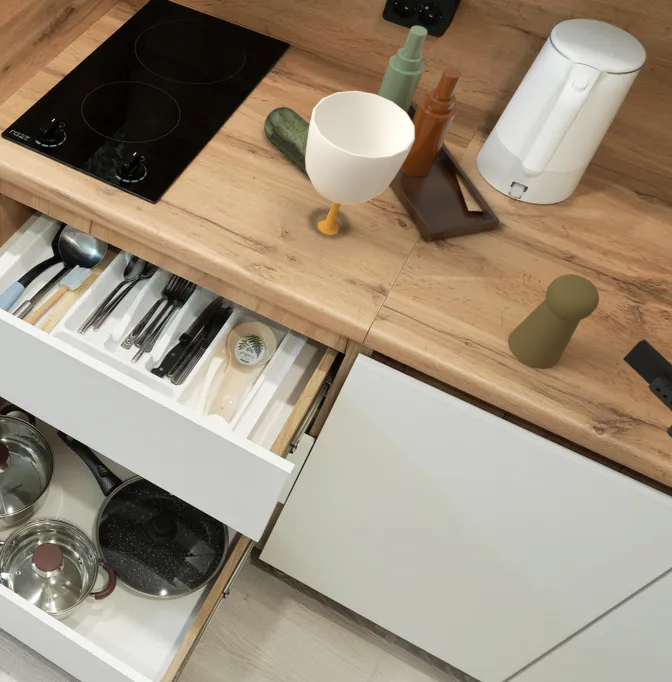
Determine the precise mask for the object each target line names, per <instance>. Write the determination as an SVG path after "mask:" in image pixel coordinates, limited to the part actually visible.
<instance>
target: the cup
mask: <svg viewBox="0 0 672 682" xmlns="http://www.w3.org/2000/svg"><path fill="white" fill-rule="evenodd" d="M309 124H310V125H309V131H308V139H307V147H306V156H305V163H306V171H307V173H308V175H307V176H308V177H309V178H308V179H309V180H310V182H311V184H312V186H313V188H314V190H315V191H317V193H318V194H320V195H321V196H322V198H325V199H326V200H329V201H331V206H330V209H329V211H328V214H327V216H326V218H325V219H321V220H320V221H318V223H317V228H318V230H319V231H320V232H321V233H322V234H324V235H328V236H332V235H336V234H337V233H338V232H339V230H340V227H339V225H338V224H337V222H336V220H337V216H338V212H339V209H340V207H341V205H345V206H354V205H362V204H364V203H367V202H369V201H370V200H373V199H375V198H377V197H378V196H380V195H382V194H383V193H384V192H385V190H386V189H387V188H388V187H390V185H389V184H390V183H391V181H392V180H393V179H394V177H395V176H396V174H397V173H398V171H399V169H400V168H401V166H402V164H403V162H404V161H405V159H406V157H407V155H408V153H409V151H410V149H411V147H412V145H413V143H414V141H415V126H414V124H413V123H412V121H411V119H410V118H409V116H408V114H407V113H406V112H405V111H404V110H402V109H401V108H400V107H399V106H397V105H396V104H395V103H394V102H392V101H390V100H387V99H385V98H383V97H380V96H378V95H377V94H376V93H370V92H365V91H358V90H348V91H337V92H334V93H332V94H330V95H327V96H325V97H323V98H321V99H320V100H319V101H318V103H317V104H316V105H315V106H314V108H312V113H311V117H310V121H309Z"/></svg>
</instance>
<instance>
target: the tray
mask: <svg viewBox="0 0 672 682" xmlns="http://www.w3.org/2000/svg"><path fill="white" fill-rule="evenodd" d="M417 107H418V106H417V105H416V104H415V103H414V101H413V100H412V102H411V105H410V107H409V110H408V113H407V114H408V116H409V118H410V119H411V121H412V120H413V117H414V115H415V112H416V110H417ZM458 179H459V180H460V182H461V183H462V184H463V186H464V187H465V189H466V190H467V192H468V193H469V194H470V196H471V197H472V199H474V201H475V203H476V204H477V205H478V206H479V208H480V209H481V210H469V208H468V205H467V202H466V200H465V196H464V194H463V190H462V188H461V184H460V182H459V180H458ZM389 187H390V188H391V190H392V192H393V193H394V194H395V196H396V197H397V198H398V201H399V202H400V203H401V205H402V207H403V208H404V210H405V212H406V213H407V215H408V216H409V217H410V219H411V220H412V222H413V224H414V225H415V227H416V228H417V230H418V231H419V233H420V235H421V236H422V238H423V239H424V241H425V242H426V243H430V242H436V241H441V240H445V239H452V238H457V237H463V236H467V235H472V234H479V233H483V232H489V231H495V230H496V229H497V227H498V226H499V224H500V222H501V220H500V219H499V218H498V216H497V215H496V213H495V212H494V211H493V209H492V208H491V206H490V205H489V204H488V203H487V201H486V200H485V198H484V197H483V195H482V194H481V193H480V192H479V190H478V189H477V187H476V186H475V185H474V183H473V182H472V181H471V179H470V178H469V177H468V175H467V173H465V171H464V170H463V168H462V167H461V165H460V164H459V162H458V161H457V160H456V159H455V157H454V155H452V153H451V152H450V150H449V149H448V148H447V146H446V145H445V144H444V143H443V144H442V146H441V148H440V151H439V153H438V155H437V157H436V160H435V162H434V164H433V166H432V168H431V171H430V172H429V174H427V175H426V176H423V177H413V176H409V175H407V174H405V173H403V172H402V171H401V170H400V169H399V171H398V173H397V174H396V176H395V177H394V179H393V180H392V181H391V183H390V184H389Z"/></svg>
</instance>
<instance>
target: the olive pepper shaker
mask: <svg viewBox="0 0 672 682" xmlns="http://www.w3.org/2000/svg"><path fill="white" fill-rule="evenodd" d="M544 297H545V298H544V300H543V301H542V302H540V304H539V305H537V307H536V308H535V309H534V310H533V311H531V313H529V315H528V316H527V317H525V318H524V320H522V321H521V323H520V324H518V325H517V326H516V327H515V328H514V329H513V330H512V331H511V332H510V333H509V335H508V336H509V337H508V339H507V341H508V348H509V349H510V351H511V353H512V354H513V355H514V357H515V358H516V359H517V360H519V361H520V362H522V363H523V364H524V365H526V366H529V367H532V368H537V369H550V368H551V367H553V366H556V364H558V362H559V361H560V359H561V357H562V355H563V354H564V352H565V350H566V348H567V346H568V344H569V343H570V340H571V338H572V337H573V335H574V333H575V331H576V329H577V327H578V326H579V324H580V322H581V321H582V320H584V319H587V318H589V317H590V316H591V315H592V314H593V313H594V312H595V310H596V309H597V308H598V306H599V301H600V296H599V291H598V289H597V287H596V286H595V284H593V283H592V282H591V280H589V279H587V278H586V277H584V276H581V275H578V274H573V273H567V274H563V275H560V276H558V277H556V278H555V279H554V280H553V281H551V282H550V284H549V285H548V286H547V289H546V292H545V295H544Z"/></svg>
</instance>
